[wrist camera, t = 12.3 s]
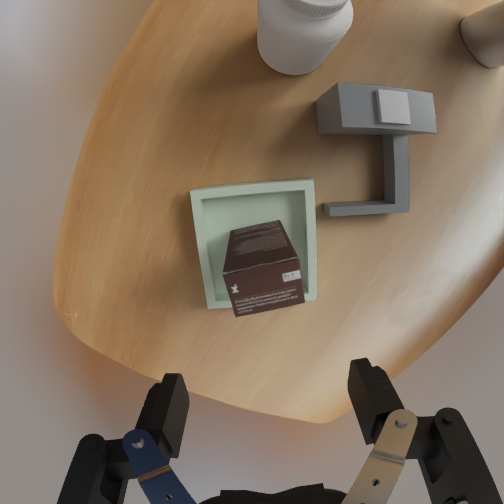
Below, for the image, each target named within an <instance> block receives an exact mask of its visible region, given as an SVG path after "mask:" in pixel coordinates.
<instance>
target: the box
mask: <svg viewBox="0 0 504 504" xmlns="http://www.w3.org/2000/svg"><path fill="white" fill-rule="evenodd" d="M222 276H223V279H224V282H225V285H226V288H227V291H228V295H229V298H230V301H231V304H232V307H233V310H234V314H235V316H236V317H239V316H244V315H249V314H255V313H260V312H264V311H269V310H274V309H278V308H283V307H287V306H292V305H296V304H300V303H305V296H304V289H303V282H302V275H301V267H300V260H299V257H298V255H297V253H296V251H295V249H294V247H293V245H292V243H291V241H290V239H289V237H288V235H287V233H286V231H285V229H284V227H283V225H282V223H281V221H280V220H276V221H271V222H266V223H262V224H257V225H252V226H248V227H244V228H239V229H235V230H231V231H230V236H229V241H228V246H227V252H226V257H225V263H224V267H223V272H222Z"/></svg>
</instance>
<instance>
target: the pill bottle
mask: <svg viewBox="0 0 504 504" xmlns="http://www.w3.org/2000/svg"><path fill="white" fill-rule="evenodd" d="M352 21H353V7H352V4H351V1H350V0H258V32H257V46H258V50H259V53H260V56H261V57H262V59H263V60H264V62H265V63H266V64H267V65H268V66H270V67H271V68H272V69H274V70H276V71H278V72H280V73H283V74H287V75H303V74H307V73H310V72H312V71H314V70H315V69H317V68H318V67H319V66H320V65H321V64H322V63H323V62H324V60H325V59H326V58H327V56H328V55H329V54H330V53H331V51H332V50H333V49H334V48H335V46H336V45H337V44H338V42H339V41H340V40H341V39H342V37H343V36H344V35H345V34H346V32H347V31H348V30H349V28H350V26H351V24H352Z"/></svg>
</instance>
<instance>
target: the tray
mask: <svg viewBox="0 0 504 504" xmlns="http://www.w3.org/2000/svg"><path fill="white" fill-rule="evenodd" d="M190 195H191V203H192V211H193V218H194V225H195V232H196V239H197V246H198V252H199V259H200V265H201V271H202V277H203V283H204V289H205V295H206V300H207V306H208V309H220V308H233V307H232V304H231V301H230V298H229V295H228V291H227V288H226V285H225V282H224V279H223V276H222V272H223V267H224V263H225V257H226V252H227V246H228V241H229V236H230V231H231V230H235V229H239V228H244V227H248V226H252V225H257V224H262V223H266V222H271V221H276V220H280V221H281V223H282V225H283V227H284V229H285V231H286V233H287V235H288V237H289V239H290V241H291V243H292V245H293V247H294V249H295V251H296V253H297V255H298V257H299V260H300V267H301V275H302V282H303V289H304V296H305V301H312V300H317V247H316V216H315V194H314V180H313V179H310V178H302V179H286V180H273V181H260V182H249V183H238V184H228V185H219V186H210V187H202V188H194V189H193V190H191V191H190Z"/></svg>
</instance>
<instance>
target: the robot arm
mask: <svg viewBox="0 0 504 504" xmlns="http://www.w3.org/2000/svg"><path fill="white" fill-rule="evenodd" d="M460 30H461V34H462V37H463V40H464V42H465V44H466V46H467V47H468V49H469V51H470V52H471V53H472V55H473V56H474V57H475V58H476V59H477V61H479V62H480V63H481V64H482V65H484V66H485V67H488V68H495V67H500V66H504V1H501V2H499V3H497V4H494V5H492V6H490V7H487V8H485V9H483V10H481V11H479V12H476V13H474V14H472V15H470V16H468V17H466V18H464V19H463V20H462V21H461V24H460ZM348 393H349V396H350V399H351V402H352V405H353V408H354V410H355V413H356V416H357V419H358V422H359V425H360V428H361V431H362V434H363V436H364V440H365V442H366V445H368V444H372V443H374V448H373V450H372V452H371V453H370V454H369V456H368V458H367V460H366V462H365V464H364V466H363V468H362V469H361V471H360V473H359V475H358V477H357V478H356V480H355V482H354V483H353V485H352V487H351V488H350V490H349V492H348V493H347V494H346V493H344V492H341V491H338V490H334V489H324V486H323V483H321V484H314V485H307V486H300V487H295V488H292V489H289V490H286V491H283V492H279V493H275V494H265V493H259V492H253V491H247V490H221V493H220V496H216V497H213V498H210V499H207V500H205V501H203V502H201V503H199V504H386V503H387V501H388V499H389V497H390V495H391V493H392V490H393V489H394V486H395V484H396V482H397V480H398V477H399V475H400V473H401V471H402V468H403V466H404V463H405V459H418V462H419V465H420V467H421V471H422V474H423V477H424V480H425V483H426V486H427V489H428V493H429V496H430V499H431V502H432V504H503V503H502V500H501V498H500V495H499V493H498V490H497V488H496V485H495V483H494V481H493V478H492V476H491V474H490V472H489V469H488V467H487V465H486V463H485V461H484V458H483V456H482V454H481V452H480V450H479V448H478V446H477V444H476V442H475V440H474V438H473V436H472V434H471V432H470V431H469V428H468V427H467V425H466V423H465V421H464V419H463V417H462V416H461V414H460V413H459V411H457V410H456V409H453V408H443V409H441V410H439V411H438V412H437V414H436V415H435V416H430V417H417V416H415V415H414V413H412V412H410V411H409V410H405V409H404V407H403V405H402V402H401V400H400V399H399V397H398V395H397V393H396V391H395V389H394V387H393V385H392V384H391V381H389V378H388V376H387V374H386V372H385V371H384V370H383V369H381V368H380V367H379V366H375V367H372V366H371V364H370V362H369V360H368V359H367V358H361V359H356V360H352V361H351V363H350V370H349V377H348ZM188 408H189V395H188V392H187V389H186V386H185V383H184V380H183V377H182V374H180V373H166V374H165V375H164V377H163V380H162V383H156V384H155V385H154V386H153V387H152V388H151V389H150V390H149V392H148V395H147V397H146V400H145V403H144V406H143V408H142V411H141V413H140V416H139V419H138V421H137V424H136V427H135V429H134V430H131V431H129V432H128V433H127V434H125V435H124V437H123V438H122V439H115V440H104V438H103V437H102V436H100V435H98V434H89V435H86V436H84V437H83V438H82V439H81V440H80V442H79V444H78V447H77V449H76V452H75V455H74V457H73V460H72V462H71V465H70V468H69V470H68V473H67V476H66V479H65V481H64V484H63V487H62V490H61V493H60V496H59V498H58V502H57V504H123V502H124V497H125V493H126V488H127V484H128V479H136V478H138V482H139V484H140V486H141V488H142V489H143V491H144V493H145V495H146V497H147V498H148V500H149V502H150V504H197V503H196V502H195V501H194V500H193V498H192V497H191V495H190V494H189V493H188V491H187V490H186V489H185V487H184V486H183V485H182V483H181V482H180V480H179V479H178V477H177V476H176V475H175V473H174V472H173V470H172V469H171V467H170V466H169V461H170V458H178V456H179V451H180V446H181V441H182V436H183V431H184V427H185V422H186V418H187V413H188Z"/></svg>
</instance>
